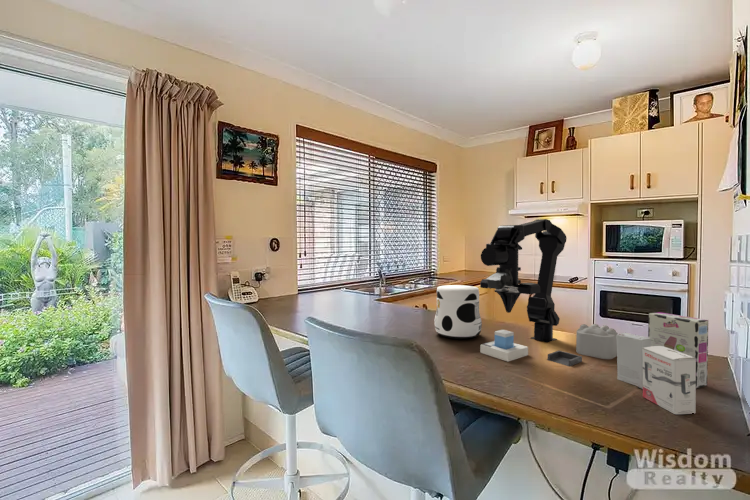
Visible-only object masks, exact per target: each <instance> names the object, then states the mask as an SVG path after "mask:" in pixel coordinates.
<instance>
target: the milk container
mask: <svg viewBox="0 0 750 500" xmlns="http://www.w3.org/2000/svg"><path fill="white" fill-rule="evenodd" d="M479 290H480V289H479V287H477V286H473V285H463V284H452V285H451V284H448V285H447V284H446V285H439V286H437V288H436V312H435V316H434V321H433V322H434V329H435V331H436V332H435V333H437V334H438V335H439V336H442V337H445V338H448V339H449V338H450V339H457V340H459V339H460V340H463V339H464V340H466V339H472V338H475V337H477V336H479V335H480V333H481V332H482V328H483V327H482V326H483V324H482V323H483V322H482V316H481V313H480V291H479Z"/></svg>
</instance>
